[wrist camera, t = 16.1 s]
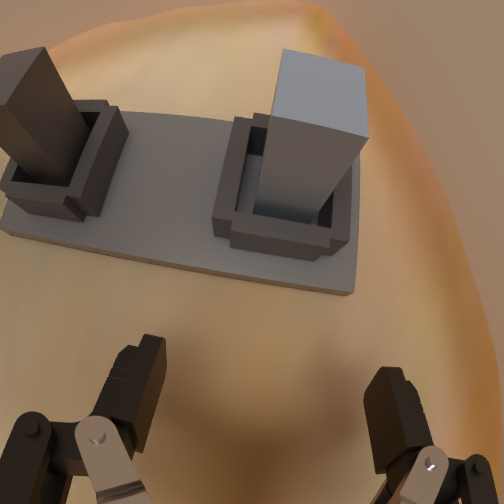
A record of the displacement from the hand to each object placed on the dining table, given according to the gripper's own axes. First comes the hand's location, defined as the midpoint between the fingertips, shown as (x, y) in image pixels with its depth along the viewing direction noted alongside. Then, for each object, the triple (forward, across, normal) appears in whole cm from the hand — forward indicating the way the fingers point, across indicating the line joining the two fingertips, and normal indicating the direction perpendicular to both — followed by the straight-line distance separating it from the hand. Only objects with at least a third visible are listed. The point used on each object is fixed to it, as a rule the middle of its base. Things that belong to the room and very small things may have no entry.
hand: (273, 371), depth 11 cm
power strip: (+12, +7, -2) cm, 14 cm away
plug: (+11, 0, -3) cm, 11 cm away
